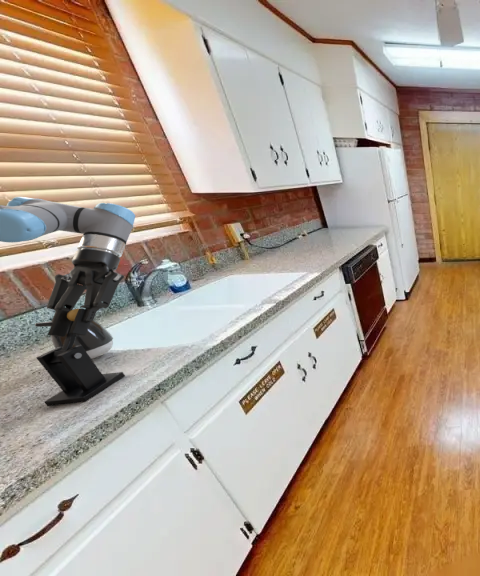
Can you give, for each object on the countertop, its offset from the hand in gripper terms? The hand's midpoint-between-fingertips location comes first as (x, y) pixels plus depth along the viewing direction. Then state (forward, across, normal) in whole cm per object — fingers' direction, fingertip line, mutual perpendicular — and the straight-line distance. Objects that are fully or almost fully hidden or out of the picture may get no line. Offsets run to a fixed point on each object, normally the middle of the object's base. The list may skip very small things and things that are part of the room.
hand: (67, 334), depth 75 cm
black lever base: (+13, 0, -9) cm, 16 cm away
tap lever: (0, 0, -3) cm, 3 cm away
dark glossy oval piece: (+1, +15, -22) cm, 26 cm away
